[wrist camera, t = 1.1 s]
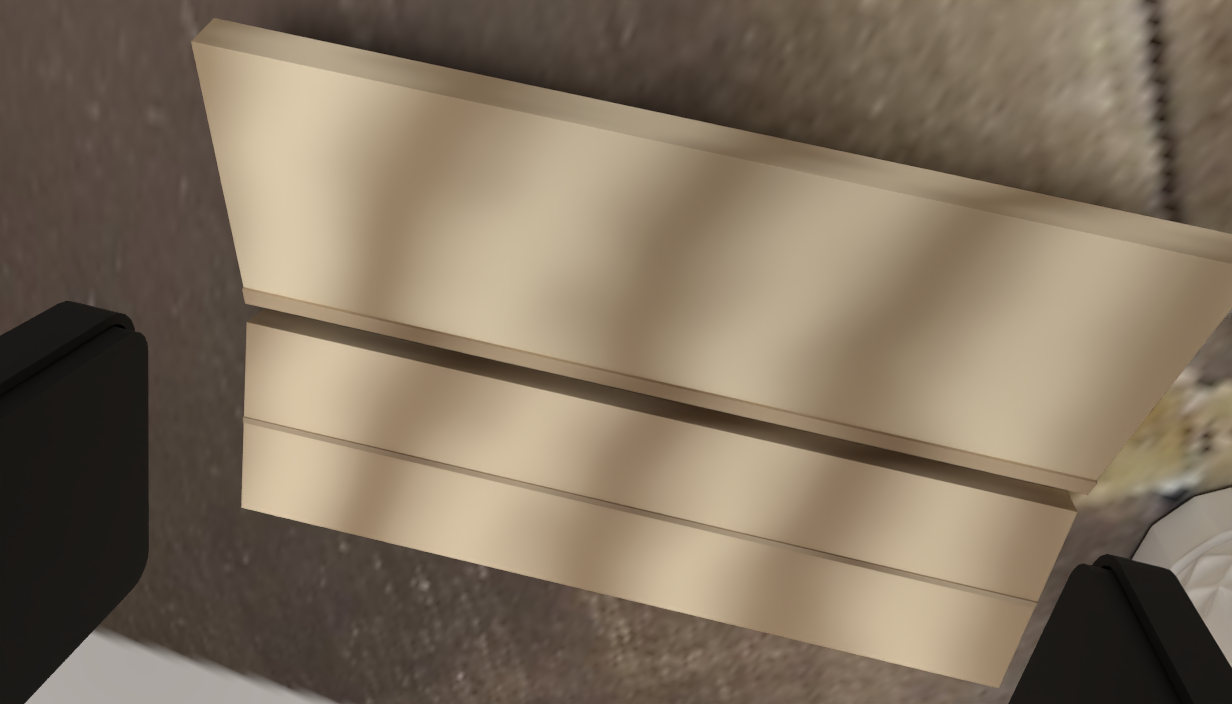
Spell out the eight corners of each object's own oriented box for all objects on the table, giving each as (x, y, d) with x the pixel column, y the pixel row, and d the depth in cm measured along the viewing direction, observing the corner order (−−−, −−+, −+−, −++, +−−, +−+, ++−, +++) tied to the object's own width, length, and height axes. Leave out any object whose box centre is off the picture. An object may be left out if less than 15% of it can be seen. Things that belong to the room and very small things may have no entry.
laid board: (1066, 490, 31) (1078, 513, 30) (991, 663, 34) (999, 689, 33) (264, 308, 33) (245, 323, 31) (257, 489, 36) (240, 508, 34)
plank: (1249, 237, 24) (1262, 273, 23) (1080, 462, 31) (1086, 496, 30) (214, 17, 25) (189, 43, 25) (263, 278, 32) (245, 305, 31)
